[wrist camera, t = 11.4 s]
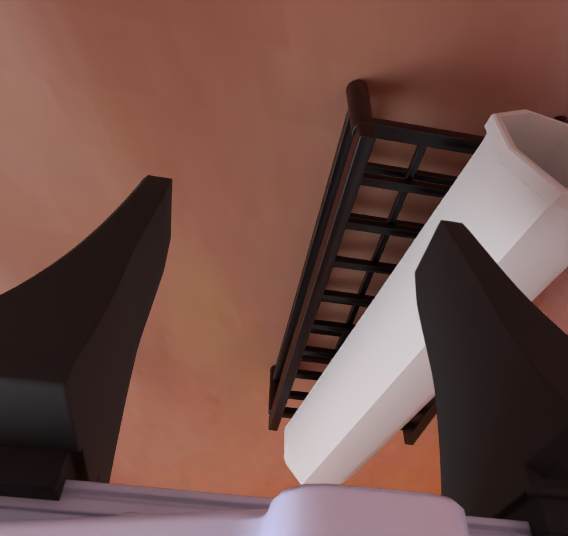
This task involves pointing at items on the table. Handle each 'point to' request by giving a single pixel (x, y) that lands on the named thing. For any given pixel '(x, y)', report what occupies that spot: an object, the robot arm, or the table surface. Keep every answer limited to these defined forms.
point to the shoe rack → (338, 217)
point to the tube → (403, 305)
